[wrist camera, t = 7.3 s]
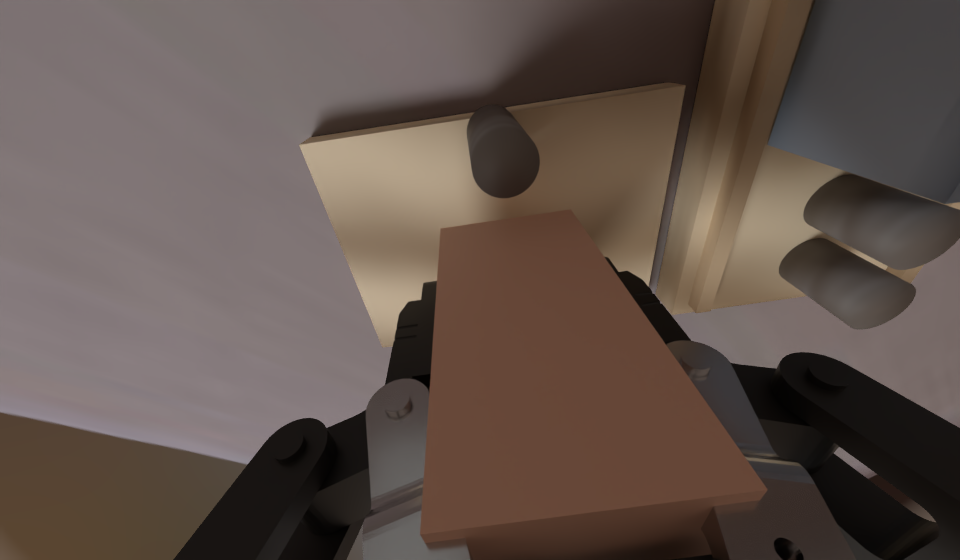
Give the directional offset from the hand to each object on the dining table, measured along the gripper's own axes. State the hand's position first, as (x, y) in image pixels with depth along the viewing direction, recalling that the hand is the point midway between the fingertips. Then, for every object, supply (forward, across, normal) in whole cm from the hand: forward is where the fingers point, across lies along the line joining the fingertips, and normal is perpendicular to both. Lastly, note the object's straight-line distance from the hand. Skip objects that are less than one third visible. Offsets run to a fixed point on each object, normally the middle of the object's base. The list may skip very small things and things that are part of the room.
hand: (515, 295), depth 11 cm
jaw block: (+1, 0, 0) cm, 1 cm away
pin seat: (+4, 0, 0) cm, 4 cm away
